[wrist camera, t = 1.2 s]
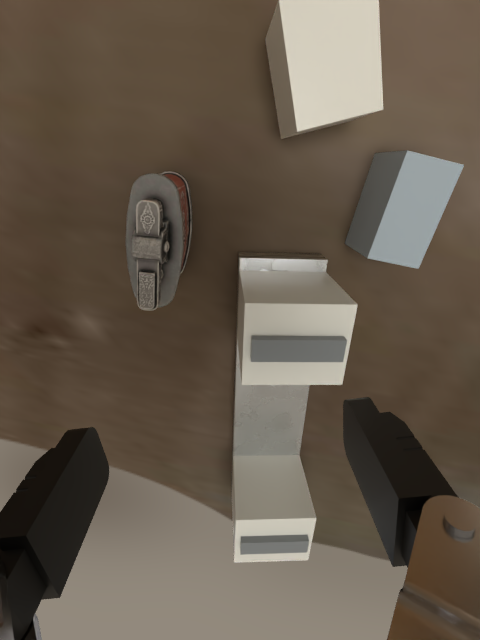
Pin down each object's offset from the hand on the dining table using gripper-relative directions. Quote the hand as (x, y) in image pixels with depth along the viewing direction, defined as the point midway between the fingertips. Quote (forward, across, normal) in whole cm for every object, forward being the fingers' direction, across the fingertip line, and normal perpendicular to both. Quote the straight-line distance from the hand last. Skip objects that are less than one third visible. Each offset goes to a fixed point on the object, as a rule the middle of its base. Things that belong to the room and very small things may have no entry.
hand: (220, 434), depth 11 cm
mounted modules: (+18, -3, +12) cm, 22 cm away
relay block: (+19, -7, -13) cm, 24 cm away
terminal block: (+20, -13, -4) cm, 24 cm away
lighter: (+20, +4, -5) cm, 20 cm away
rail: (+20, -2, +12) cm, 24 cm away
